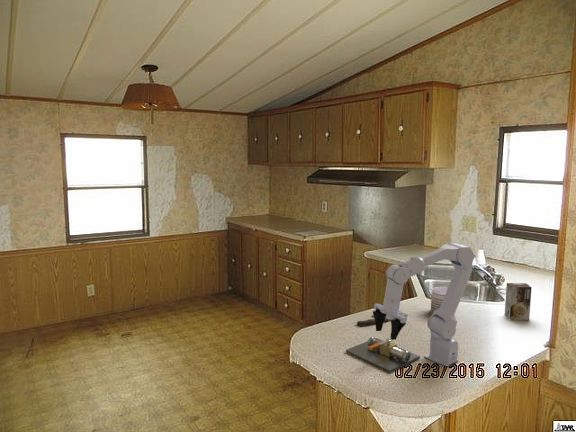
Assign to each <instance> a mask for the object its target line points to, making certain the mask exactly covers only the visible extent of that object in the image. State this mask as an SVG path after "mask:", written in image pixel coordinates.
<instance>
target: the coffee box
mask: <svg viewBox="0 0 576 432" xmlns="http://www.w3.org/2000/svg"><path fill="white" fill-rule="evenodd" d="M531 299H532V286H530V285H529V284H528V283H526V282H506V290H505V301H504V302H505V304H504V316H505V317H506V318H507V319H508V320H509V321H510V320H515V321H519V320H520V321H530V315H531V314H530V313H531V301H532V300H531Z"/></svg>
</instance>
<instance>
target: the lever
mask: <svg viewBox="0 0 576 432" xmlns="http://www.w3.org/2000/svg"><path fill="white" fill-rule="evenodd" d="M382 341H383V342H381V343H376V344H374V345H371V346H369V350H372V351H373V350H375V349H378V348H380V347H381V346H383V345H385V344H387V343H391V342H392V340H391V338H386V339H385V340H382ZM392 343H393V342H392Z"/></svg>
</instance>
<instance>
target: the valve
mask: <svg viewBox="0 0 576 432" xmlns="http://www.w3.org/2000/svg"><path fill="white" fill-rule="evenodd" d="M383 341H384V340H382V339H379V338H377V337H375V336H370V337H369V338H368V340H367V341H365V342H362V343H359V344H357V345H354V346H352V347H349V348H347V349H346V350H345V353H346V352H347V354H348V353H349V355H350V354H351V356H353V357H355V358H356V359H359V360H360V361H362V362H366V363H367V364H369V365H371V366H374V367H376V368H378V369H379V370H382V371H384V372H386V373H387V374H391V373H393V372H396V371H398V370H400V369H402V368H404V367H406V366H408V365H410V364H412V363H414V362H416V361H418V360H420V359H421V356H420V355H418V354H417V353H416V354H415V353H413V352H411V351H408V350H406V349H404V348H401V347H398V344H396V343H394V342H391V343H387V344H385V345H383V346H381V347H380V348H378V349H375V350H373V351H372V350H369V346H371V345H374V344H376V343H381V342H383Z"/></svg>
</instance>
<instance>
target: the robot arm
mask: <svg viewBox="0 0 576 432" xmlns="http://www.w3.org/2000/svg"><path fill="white" fill-rule="evenodd" d="M475 257H476V255H475V254H474V251H473V250H472V248H471V247H470V246H466V245H462V244H460V243H456V242H454V241H449V242H447V243H446V244H442V245H441V247H439V248H437V249H435V250H433V251H431V252H429V253H427V254H426V255H424V256H422V257H419V256H413V255H412V256H410V258H409V259H408V260H407V259H406V260H405V261H404V262H402V261H401V262H399V263H398V264H391V265H390V266H388V269H387V270H386V271H385V276H386V279H387V280H386V287H385V293H384V298H383V304H380V303H374V306H373V309H374V310H373V311H372V315H374V317H373V319H375V324H376V325H375V331H376V332H382V330H383V326H384V324H385V323H384V320H385V317H386V315H389V316H391V317H393V318H395V320H391V321H390V324H391V325H390V326H391V328H390V329H391V330H390V339H391V340H397V337H398V336H399V334H400V332H401V330H402V329H403V328H404V326H406V324H407V317H408V316H406V317H405V316H403V315H402V314H401V313H400V312H401V311H400V307H401V300H402V296H403V289H404V284H406V282H408V280H409V279H410V278H411V277H414V276H416V275H418V274H420V273H422V272H424V271H425V268H426V267H428V266H430V265H433V264H436V263H438V262H441V261H444V260H446V261H447V260H448V261H449V262H451V264H452V266H453V268H454V272H453V274H452V277H451V280H450V282H449V284H448V286H447V287H448V289H447V291H446V294H445V296H444V299H443V301H442V304H441V306H440V308H439V309H437V310H435V311H434V313H433V314H431V316H430V317H429V318H428V319H427V328H428V329H429V330H430V331H429V333H430V338H429V339H430V341H429V353H428V354H426V355H424V358H425V359H428V360H430V361H433V362H434V363H438V364H440V365H441V366H445V367H449V366H451V365H453V364H454V363H456V362H458V361H459V359H458V354H459V343H458V341H456V340H455V339H453V337H454V336H455V334H456V331H457V324H458V321H457V317H456V316H455V313H456V312H457V309H458V306H459V304H460V303H461V299H462V297H463V295H464V292H465V289H466V287H467V284H468V282H469V279H470V277H471V274H472V272H473V262H474V259H475ZM399 311H400V312H399Z"/></svg>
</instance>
